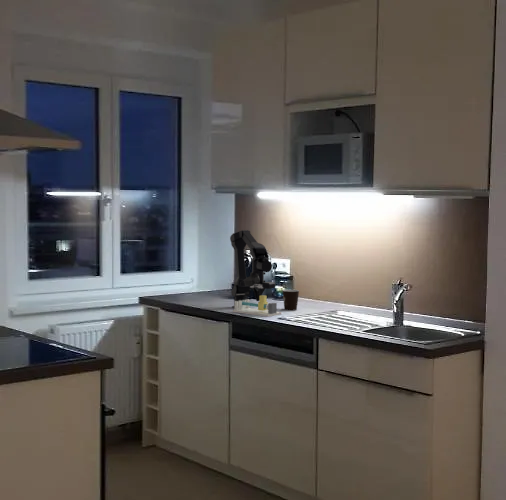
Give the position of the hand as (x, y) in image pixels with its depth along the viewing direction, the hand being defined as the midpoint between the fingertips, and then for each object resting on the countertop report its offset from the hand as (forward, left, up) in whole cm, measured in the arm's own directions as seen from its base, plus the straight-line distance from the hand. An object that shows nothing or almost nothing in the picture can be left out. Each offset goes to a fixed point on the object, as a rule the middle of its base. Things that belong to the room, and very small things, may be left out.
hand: (257, 301), depth 407 cm
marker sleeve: (+3, 0, -4) cm, 5 cm away
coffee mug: (+3, +23, -6) cm, 24 cm away
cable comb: (-1, 0, -6) cm, 6 cm away
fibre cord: (-1, 0, -6) cm, 6 cm away
